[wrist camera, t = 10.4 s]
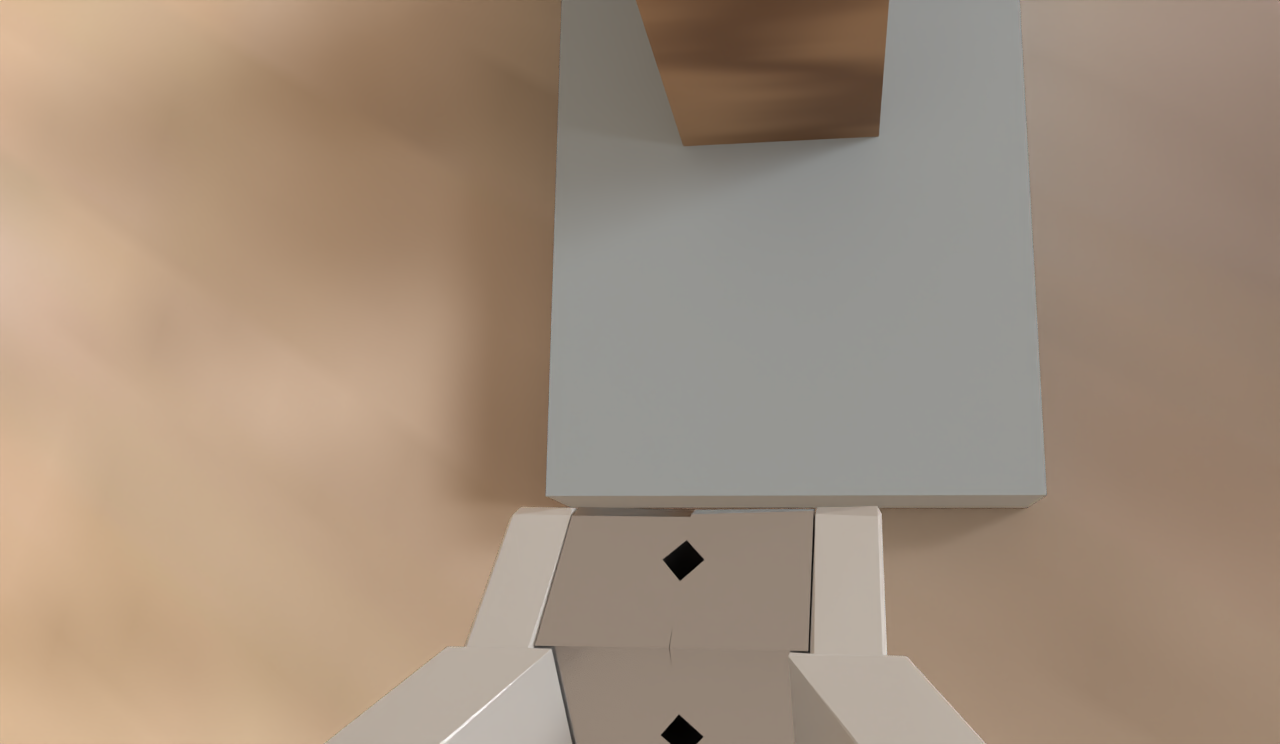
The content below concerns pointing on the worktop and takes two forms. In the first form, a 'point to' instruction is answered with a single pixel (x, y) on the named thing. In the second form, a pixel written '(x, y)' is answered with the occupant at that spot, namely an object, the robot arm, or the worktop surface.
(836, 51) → the brown boxy piece
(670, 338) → the board
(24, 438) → the worktop surface
